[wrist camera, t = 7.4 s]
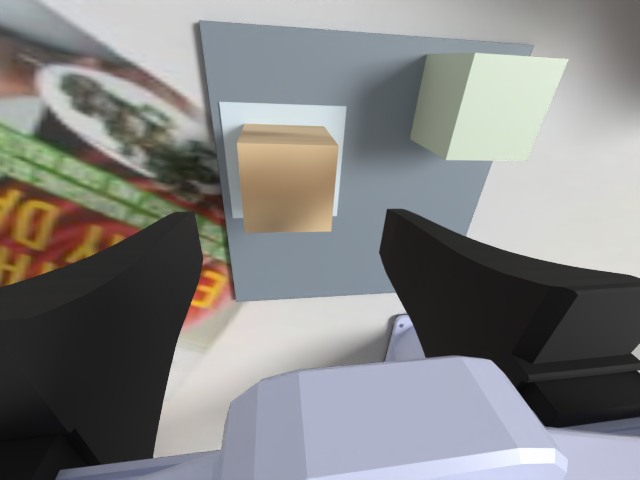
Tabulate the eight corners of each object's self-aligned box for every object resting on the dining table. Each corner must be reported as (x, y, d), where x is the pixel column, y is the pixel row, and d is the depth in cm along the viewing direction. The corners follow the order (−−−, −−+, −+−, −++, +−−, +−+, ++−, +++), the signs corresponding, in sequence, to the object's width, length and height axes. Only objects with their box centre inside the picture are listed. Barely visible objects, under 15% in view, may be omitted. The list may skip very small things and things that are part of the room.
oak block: (319, 197, 19) (331, 231, 16) (250, 197, 19) (244, 233, 15) (323, 126, 17) (338, 145, 13) (245, 123, 16) (236, 143, 13)
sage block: (475, 140, 19) (526, 160, 15) (409, 139, 18) (445, 160, 15) (501, 58, 17) (568, 58, 13) (427, 54, 16) (475, 52, 12)
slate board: (444, 286, 26) (447, 290, 26) (236, 298, 24) (236, 302, 23) (528, 45, 17) (535, 45, 16) (200, 21, 14) (198, 20, 14)
